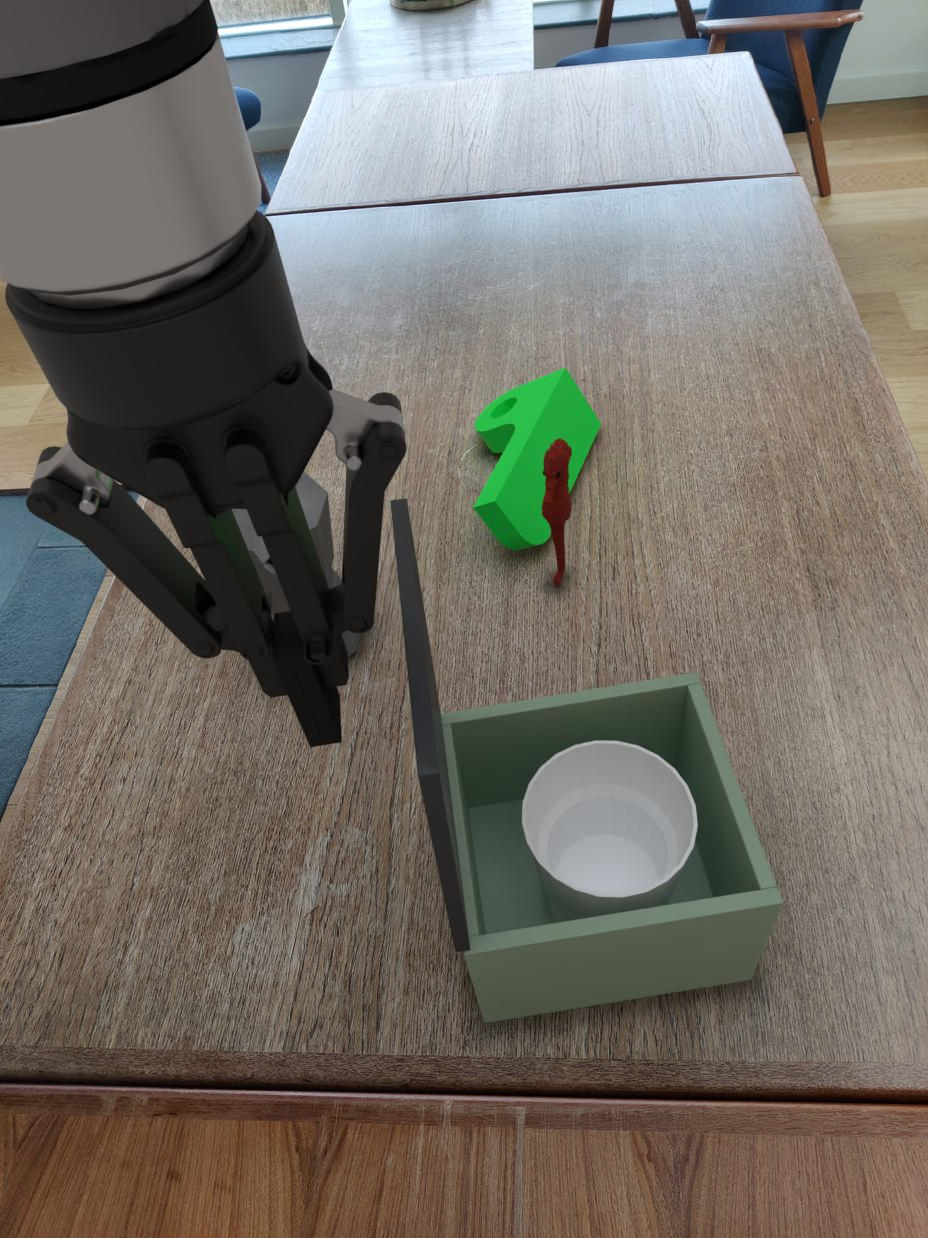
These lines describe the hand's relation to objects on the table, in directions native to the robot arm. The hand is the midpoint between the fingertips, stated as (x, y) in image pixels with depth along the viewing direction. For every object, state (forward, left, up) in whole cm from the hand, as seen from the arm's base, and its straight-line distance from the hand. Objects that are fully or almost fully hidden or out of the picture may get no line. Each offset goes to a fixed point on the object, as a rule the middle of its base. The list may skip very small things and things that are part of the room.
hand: (325, 720), depth 42 cm
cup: (-12, -7, -23) cm, 27 cm away
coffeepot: (+20, -19, -24) cm, 37 cm away
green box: (-11, -7, -24) cm, 27 cm away
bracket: (+11, -42, -24) cm, 50 cm away
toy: (+2, -32, -24) cm, 40 cm away
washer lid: (-4, -3, -2) cm, 6 cm away
